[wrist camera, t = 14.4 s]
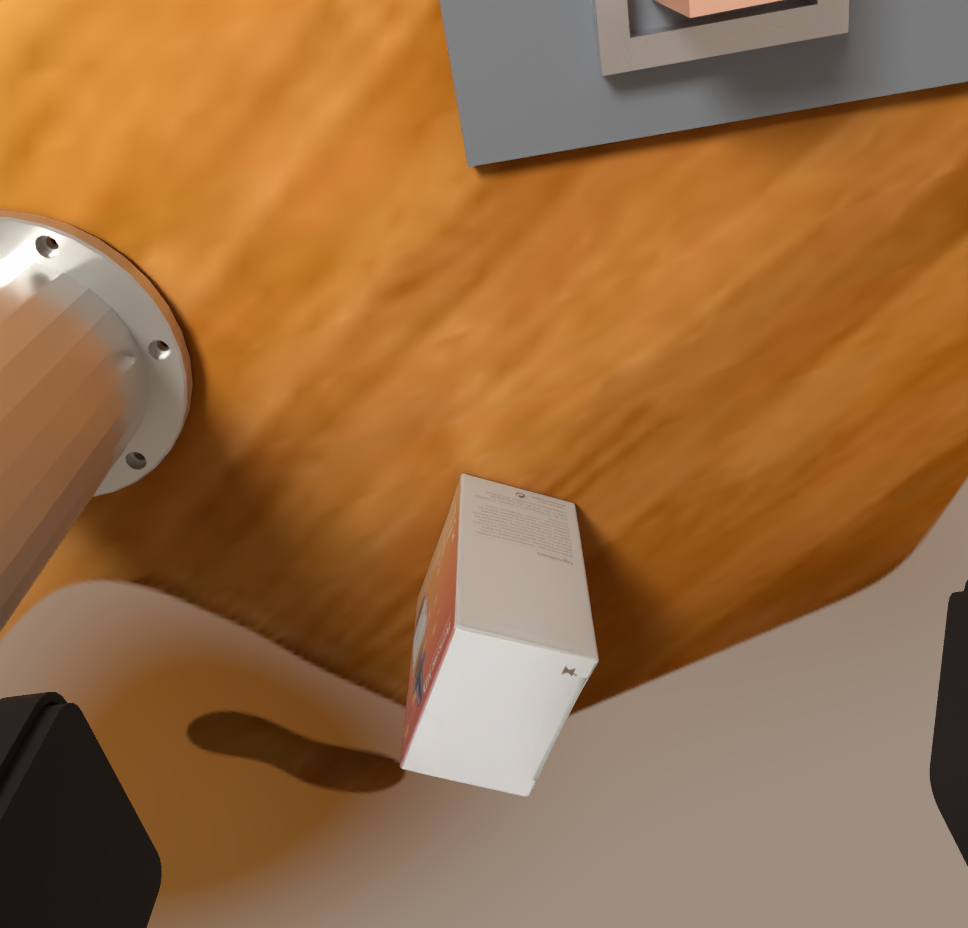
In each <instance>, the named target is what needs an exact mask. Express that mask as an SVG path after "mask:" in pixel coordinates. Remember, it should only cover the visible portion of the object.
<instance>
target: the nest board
mask: <svg viewBox="0 0 968 928" xmlns="http://www.w3.org/2000/svg"><path fill="white" fill-rule="evenodd" d="M440 6H441V12H442V18H443V24H444V29H445V35H446V41H447V47H448V53H449V58H450V64H451V70H452V76H453V82H454V88H455V93H456V99H457V105H458V111H459V117H460V122H461V128H462V134H463V140H464V146H465V151H466V157H467V163H468V167H471V166H477V165H483V164H489V163H495V162H501V161H506V160H512V159H518V158H524V157H530V156H536V155H542V154H547V153H553V152H559V151H565V150H571V149H577V148H582V147H588V146H594V145H600V144H606V143H612V142H617V141H623V140H629V139H635V138H641V137H647V136H652V135H658V134H664V133H670V132H676V131H682V130H688V129H693V128H699V127H705V126H711V125H717V124H723V123H728V122H734V121H740V120H746V119H752V118H758V117H763V116H769V115H775V114H781V113H787V112H793V111H798V110H804V109H810V108H816V107H822V106H828V105H834V104H839V103H845V102H851V101H857V100H863V99H869V98H874V97H880V96H886V95H892V94H898V93H904V92H909V91H915V90H921V89H927V88H933V87H939V86H944V85H950V84H956V83H962V82H968V0H781V1H776V2H771V3H765V4H760V5H755V6H750V7H745V8H740V9H735V10H729V11H724V12H719V13H714V14H709V15H704V16H698V17H693V18H689V17H687V16H685V15H683V14H681V13H679V12H677V11H675V10H672V9H670V8H668V7H666V6H664V5H662V4H660V3H658V2H656V1H654V0H440Z"/></svg>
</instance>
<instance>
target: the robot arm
mask: <svg viewBox="0 0 968 928" xmlns="http://www.w3.org/2000/svg"><path fill="white" fill-rule="evenodd" d="M50 237H51V238H53V239H54V240H55V241H56V243H57V244H58V246H57V245H55V244H53V242H52V241H51V238H50ZM160 341H163V342H164V343H166V344H167V345H168V347H167V346H164V345H162V343H161V342H160ZM192 387H193V382H192V372H191V362H190V356H189V353H188V350H187V347H186V343H185V340H184V337H183V333H182V331H181V329H180V327H179V325H178V323H177V321H176V319H175V317H174V315H173V314H172V312H171V310H170V308H169V306H168V304H167V303H166V302H165V300H164V299H163V298H162V296H161V295H160V294H159V292H158V291H157V290H156V289H155V287H154V286H153V285H152V283H151V282H150V281H149V280H148V279H147V278H146V277H145V276H144V275H143V274H142V273H141V272H140V271H139V270H138V269H137V268H136V267H135V266H134V265H133V264H132V263H131V262H130V261H129V260H128V259H126V258H125V257H124V256H123V255H121V254H120V253H118V252H117V251H115V250H114V249H112V248H111V247H110V246H108V245H107V244H105V243H104V242H102V241H101V240H100V239H98V238H96V237H94V236H92V235H90V234H88V233H86V232H84V231H82V230H80V229H78V228H76V227H73V226H71V225H69V224H67V223H64V222H61V221H57V220H54V219H51V218H47V217H44V216H40V215H37V214H32V213H23V212H15V211H6V210H0V632H1V630H2V629H3V627H4V626H5V624H6V623H7V622H8V620H9V619H10V617H11V616H12V614H13V613H14V611H15V610H16V608H17V607H18V605H19V604H20V603H21V601H22V600H23V598H24V597H25V595H26V594H27V592H28V591H29V589H30V588H31V586H32V585H33V583H34V582H35V581H36V579H37V578H38V576H39V575H40V573H41V572H42V570H43V569H44V567H45V566H46V564H47V563H48V561H49V560H50V559H51V557H52V556H53V554H54V553H55V551H56V550H57V548H58V547H59V545H60V544H61V542H62V541H63V539H64V538H65V537H66V535H67V534H68V532H69V531H70V529H71V528H72V526H73V525H74V523H75V522H76V520H77V519H78V517H79V516H80V515H81V513H82V512H83V510H84V509H85V507H86V506H87V504H88V503H89V501H90V500H91V498H92V497H96V496H100V495H104V494H109V493H113V492H116V491H118V490H120V489H122V488H125V487H127V486H129V485H131V484H133V483H136V482H137V481H139V480H140V479H141V478H143V477H144V476H145V475H147V474H148V473H150V472H151V471H152V470H154V469H155V468H156V467H157V466H158V465H159V463H160V462H161V461H162V460H163V459H164V457H165V456H166V455H167V454H168V453H169V452H170V450H171V449H172V447H173V445H174V444H175V442H176V440H177V439H178V437H179V435H180V433H181V432H182V429H183V427H184V424H185V421H186V418H187V416H188V413H189V410H190V404H191V395H192ZM930 782H931V787H932V792H933V795H934V798H935V801H936V804H937V806H938V808H939V810H940V812H941V814H942V816H943V818H944V820H945V822H946V824H947V826H948V828H949V830H950V832H951V834H952V836H953V838H954V840H955V842H956V844H957V846H958V848H959V850H960V852H961V854H962V856H963V858H964V860H965V861H966V864H967V866H968V580H967V582H966V585H965V589H964V591H962V592H955V593H952V595H951V596H950V599H949V603H948V611H947V620H946V629H945V639H944V646H943V656H942V664H941V673H940V682H939V691H938V701H937V709H936V719H935V727H934V736H933V745H932V754H931V762H930ZM160 883H161V862H160V858H159V856H158V853H157V851H156V849H155V847H154V845H153V844H152V842H151V840H150V838H149V836H148V834H147V832H146V831H145V828H144V827H143V825H142V823H141V821H140V819H139V818H138V816H137V814H136V812H135V810H134V808H133V806H132V804H131V802H130V801H129V799H128V797H127V795H126V793H125V791H124V789H123V787H122V786H121V784H120V782H119V780H118V778H117V776H116V774H115V773H114V771H113V769H112V767H111V765H110V763H109V761H108V760H107V758H106V756H105V754H104V752H103V750H102V748H101V746H100V745H99V743H98V741H97V739H96V737H95V735H94V733H93V732H92V730H91V728H90V726H89V724H88V722H87V720H86V719H85V717H84V715H83V713H82V711H81V710H80V708H79V707H78V706H77V705H75V704H74V703H67V702H66V701H65V699H64V698H63V697H62V696H61V695H59V694H58V693H56V692H46V693H39V694H31V695H22V696H14V697H6V698H2V699H0V928H146V927H147V924H148V922H149V919H150V916H151V913H152V910H153V907H154V904H155V901H156V898H157V895H158V892H159V888H160Z"/></svg>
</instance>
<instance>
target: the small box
mask: <svg viewBox="0 0 968 928" xmlns="http://www.w3.org/2000/svg"><path fill="white" fill-rule="evenodd" d="M598 662H599V657H598V652H597V645H596V638H595V632H594V625H593V619H592V612H591V605H590V598H589V592H588V585H587V578H586V571H585V565H584V558H583V552H582V545H581V538H580V531H579V526H578V520H577V513H576V507H575V504H574V503H572V502H568V501H564V500H561V499H557V498H553V497H549V496H546V495H542V494H538V493H535V492H531V491H527V490H523V489H519V488H516V487H512V486H508V485H504V484H500V483H497V482H493V481H489V480H486V479H482V478H478V477H474V476H471V475H467V474H461V476H460V478H459V481H458V485H457V488H456V491H455V494H454V498H453V501H452V504H451V507H450V510H449V513H448V516H447V519H446V522H445V524H444V527H443V530H442V533H441V535H440V538H439V541H438V543H437V546H436V549H435V551H434V554H433V557H432V560H431V562H430V565H429V568H428V571H427V574H426V577H425V579H424V582H423V585H422V587H421V590H420V593H419V596H418V599H417V607H416V619H415V629H414V638H413V646H412V655H411V666H410V677H409V687H408V694H407V703H406V712H405V722H404V732H403V742H402V751H401V759H400V767H401V768H402V769H405V770H409V771H413V772H417V773H421V774H426V775H430V776H434V777H439V778H443V779H449V780H452V781H457V782H461V783H466V784H471V785H475V786H480V787H484V788H489V789H493V790H498V791H502V792H507V793H512V794H516V795H521V796H529V795H531V793H532V791H533V788H534V785H535V783H536V781H537V779H538V776H539V774H540V772H541V770H542V768H543V765H544V763H545V761H546V759H547V757H548V755H549V753H550V751H551V749H552V747H553V745H554V743H555V741H556V739H557V737H558V735H559V733H560V731H561V729H562V727H563V725H564V723H565V721H566V720H567V718H568V716H569V714H570V712H571V710H572V708H573V706H574V704H575V702H576V700H577V698H578V696H579V695H580V693H581V691H582V689H583V687H584V685H585V683H586V682H587V680H588V679H589V677H590V676H591V674H592V672H593V670H594V669H595V667H596V665H597V664H598Z"/></svg>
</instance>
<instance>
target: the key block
mask: <svg viewBox="0 0 968 928" xmlns="http://www.w3.org/2000/svg"><path fill="white" fill-rule="evenodd" d="M654 1H656V2H658V3H660V4H662V5H664V6H666V7H668V8H670V9H672V10H675V11H677V12H679V13H681V14H683V15H685V16H687V17H689V18H693V17H698V16H704V15H709V14H714V13H719V12H724V11H729V10H735V9H740V8H745V7H750V6H755V5H760V4H765V3H771V2H776V1H781V0H654Z"/></svg>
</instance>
